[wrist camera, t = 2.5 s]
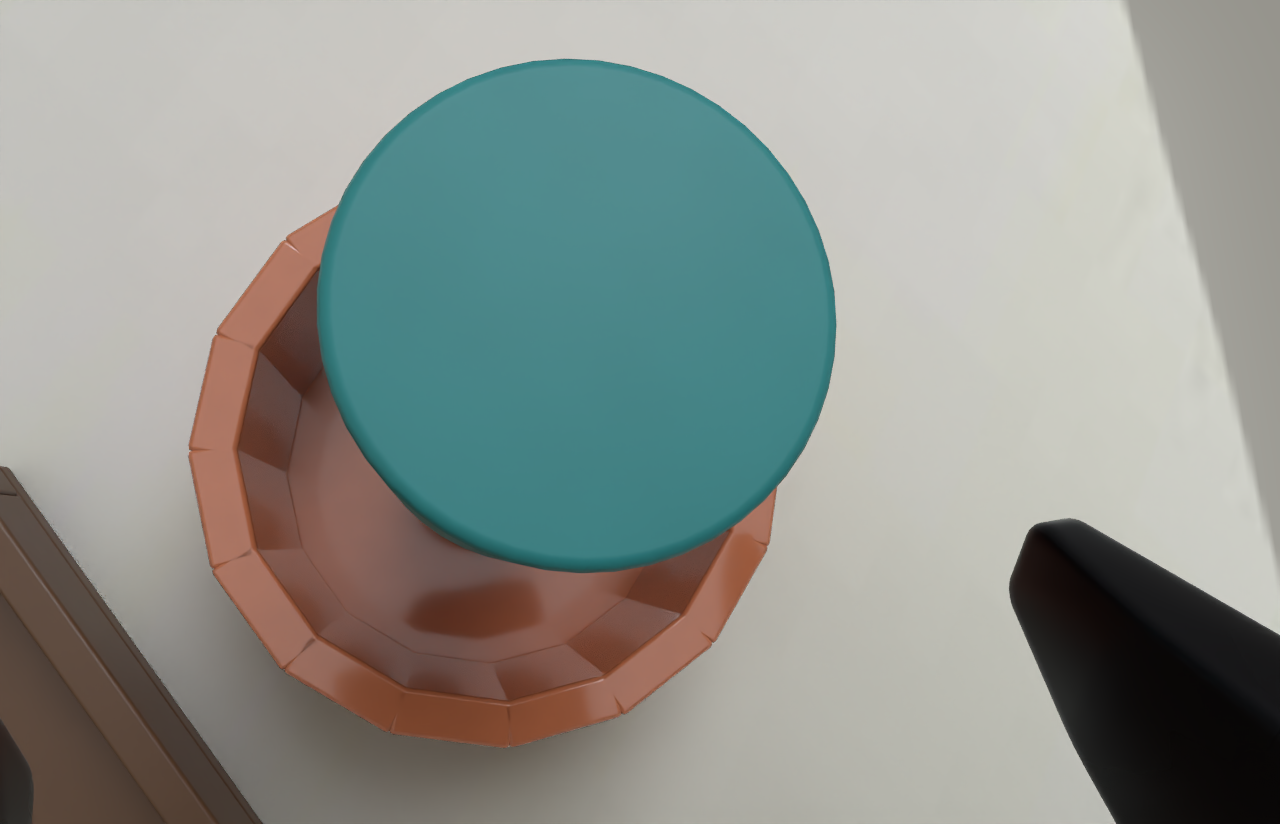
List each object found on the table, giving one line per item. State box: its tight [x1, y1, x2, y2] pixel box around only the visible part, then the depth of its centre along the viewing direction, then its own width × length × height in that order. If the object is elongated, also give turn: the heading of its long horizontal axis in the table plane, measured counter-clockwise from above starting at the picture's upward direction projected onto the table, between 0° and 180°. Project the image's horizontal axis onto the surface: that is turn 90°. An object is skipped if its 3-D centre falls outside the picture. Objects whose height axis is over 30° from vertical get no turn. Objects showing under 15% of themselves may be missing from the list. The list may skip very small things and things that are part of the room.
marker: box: [317, 59, 836, 573], centre depth 12 cm, size 3×3×12 cm
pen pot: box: [188, 205, 777, 748], centre depth 16 cm, size 8×8×5 cm
